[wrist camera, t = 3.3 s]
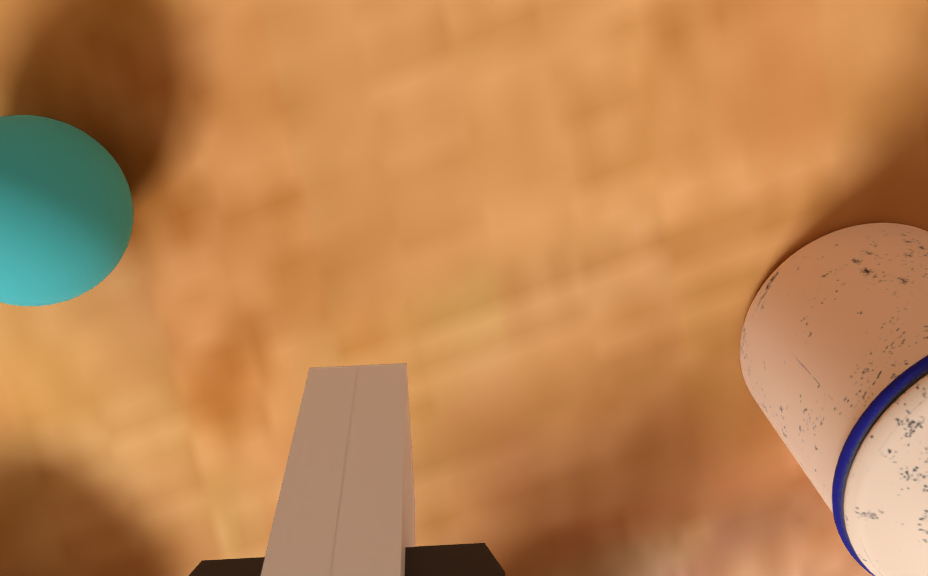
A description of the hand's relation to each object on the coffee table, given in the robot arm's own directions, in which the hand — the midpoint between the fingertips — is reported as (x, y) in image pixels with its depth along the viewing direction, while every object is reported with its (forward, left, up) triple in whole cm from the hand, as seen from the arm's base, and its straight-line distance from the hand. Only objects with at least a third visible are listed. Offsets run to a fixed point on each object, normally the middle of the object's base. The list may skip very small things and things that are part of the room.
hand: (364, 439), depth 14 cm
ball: (-10, 0, -13) cm, 16 cm away
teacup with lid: (+18, -6, -16) cm, 24 cm away
